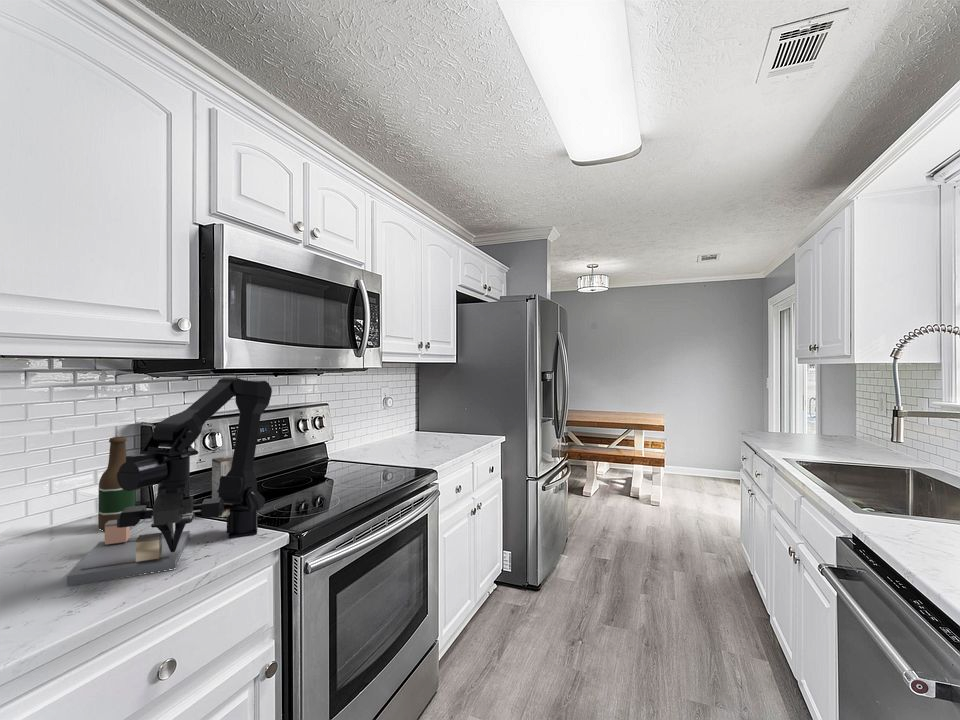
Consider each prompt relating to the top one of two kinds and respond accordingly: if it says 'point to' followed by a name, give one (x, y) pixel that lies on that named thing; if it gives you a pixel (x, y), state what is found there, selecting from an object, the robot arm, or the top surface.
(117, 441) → the beer bottle
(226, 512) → the coffee box
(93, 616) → the top surface
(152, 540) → the block
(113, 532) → the block
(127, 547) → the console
